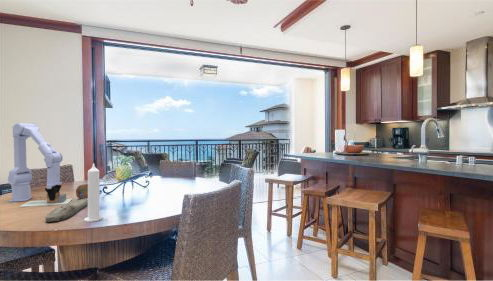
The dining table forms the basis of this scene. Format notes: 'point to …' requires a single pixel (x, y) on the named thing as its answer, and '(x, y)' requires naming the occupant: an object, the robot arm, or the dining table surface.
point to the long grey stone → (66, 210)
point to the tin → (82, 191)
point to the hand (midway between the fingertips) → (53, 199)
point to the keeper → (55, 197)
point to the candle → (93, 195)
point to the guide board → (61, 201)
